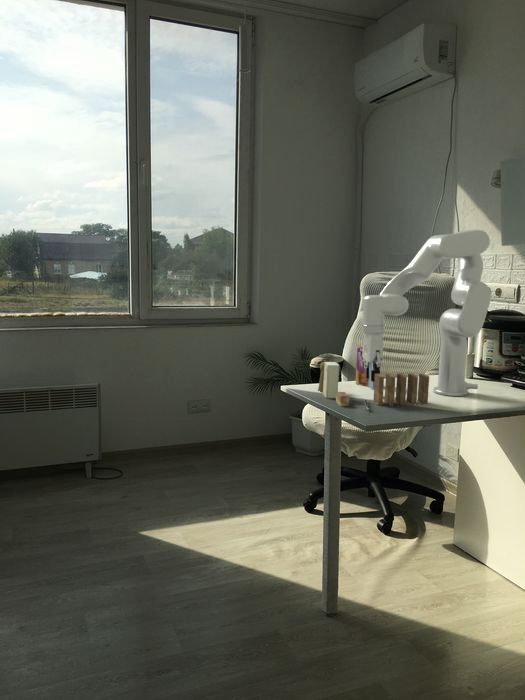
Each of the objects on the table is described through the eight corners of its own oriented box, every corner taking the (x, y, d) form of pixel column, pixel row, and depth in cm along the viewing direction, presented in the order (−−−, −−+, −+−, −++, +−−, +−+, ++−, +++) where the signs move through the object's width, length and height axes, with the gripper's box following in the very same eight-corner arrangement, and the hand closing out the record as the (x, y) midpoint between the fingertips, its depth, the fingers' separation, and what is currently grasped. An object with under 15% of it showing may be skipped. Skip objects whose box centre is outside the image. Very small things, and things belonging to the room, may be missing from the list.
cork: (337, 391, 221) (338, 362, 220) (327, 393, 217) (328, 364, 215) (324, 388, 225) (325, 360, 224) (314, 390, 221) (315, 361, 219)
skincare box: (322, 394, 215) (323, 361, 213) (334, 394, 215) (335, 361, 214) (325, 398, 209) (327, 364, 207) (338, 398, 209) (339, 364, 207)
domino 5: (410, 401, 207) (412, 373, 205) (416, 404, 202) (418, 376, 201) (406, 401, 207) (408, 373, 205) (411, 405, 202) (413, 376, 200)
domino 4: (399, 401, 206) (401, 373, 205) (405, 405, 201) (406, 376, 200) (395, 401, 206) (397, 373, 205) (400, 405, 201) (402, 376, 200)
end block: (344, 401, 204) (344, 392, 204) (349, 406, 198) (349, 396, 198) (335, 402, 204) (336, 392, 203) (340, 406, 198) (340, 396, 197)
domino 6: (421, 401, 207) (423, 373, 206) (427, 404, 203) (429, 376, 201) (417, 401, 207) (419, 373, 206) (423, 404, 202) (424, 376, 201)
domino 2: (377, 401, 205) (379, 373, 204) (382, 405, 200) (384, 376, 199) (373, 401, 205) (374, 373, 204) (378, 405, 200) (379, 376, 199)
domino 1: (372, 386, 217) (373, 360, 215) (377, 389, 212) (377, 362, 210) (368, 387, 217) (368, 360, 215) (372, 390, 212) (373, 362, 210)
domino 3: (388, 401, 206) (390, 373, 204) (393, 405, 201) (395, 376, 199) (384, 401, 206) (386, 373, 204) (389, 405, 201) (390, 376, 199)
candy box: (379, 386, 231) (381, 347, 229) (372, 387, 228) (374, 348, 226) (362, 382, 238) (363, 345, 236) (354, 383, 235) (356, 345, 233)
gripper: (356, 327, 219) (356, 375, 222) (370, 333, 202) (370, 385, 205) (376, 326, 220) (375, 374, 223) (391, 332, 203) (391, 384, 206)
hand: (373, 379), depth 214 cm, fingers closed on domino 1, 4 cm apart
